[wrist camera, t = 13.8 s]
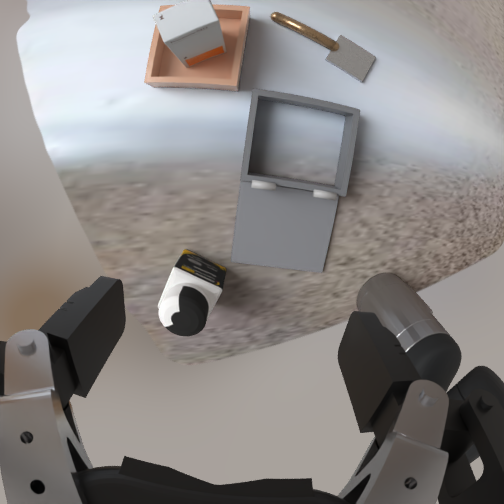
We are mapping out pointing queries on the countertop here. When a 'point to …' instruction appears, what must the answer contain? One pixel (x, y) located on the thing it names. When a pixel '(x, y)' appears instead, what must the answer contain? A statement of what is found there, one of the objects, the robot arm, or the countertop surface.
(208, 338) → the countertop surface
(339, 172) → the bin
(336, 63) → the hand shovel
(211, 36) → the skincare box
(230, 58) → the bin
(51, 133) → the countertop surface
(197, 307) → the medicine bottle
